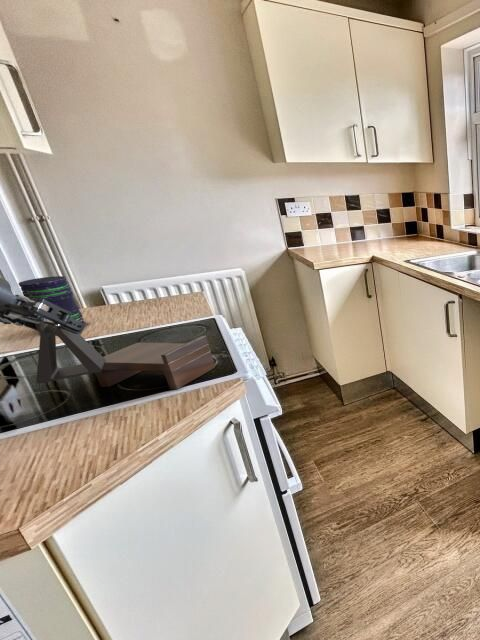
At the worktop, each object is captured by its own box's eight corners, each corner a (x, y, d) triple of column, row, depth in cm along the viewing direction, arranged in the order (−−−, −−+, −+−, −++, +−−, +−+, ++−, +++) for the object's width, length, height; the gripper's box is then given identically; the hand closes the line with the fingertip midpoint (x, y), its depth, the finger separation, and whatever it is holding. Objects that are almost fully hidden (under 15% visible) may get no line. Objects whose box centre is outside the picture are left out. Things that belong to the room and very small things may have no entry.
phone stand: (37, 384, 78) (7, 322, 73) (45, 372, 82) (17, 314, 78) (102, 371, 83) (78, 313, 78) (106, 361, 87) (84, 305, 83)
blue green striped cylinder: (42, 328, 129) (20, 280, 123) (86, 320, 135) (67, 274, 129) (39, 336, 122) (15, 286, 116) (85, 328, 128) (64, 279, 122)
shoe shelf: (101, 387, 91) (86, 353, 88) (146, 365, 101) (134, 334, 98) (177, 389, 89) (165, 355, 86) (215, 367, 100) (205, 335, 97)
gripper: (7, 264, 66) (108, 312, 82) (-72, 263, 68) (42, 311, 83) (-20, 306, 63) (90, 348, 79) (-102, 304, 65) (22, 346, 80)
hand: (65, 329), depth 81 cm, fingers closed on phone stand, 6 cm apart
